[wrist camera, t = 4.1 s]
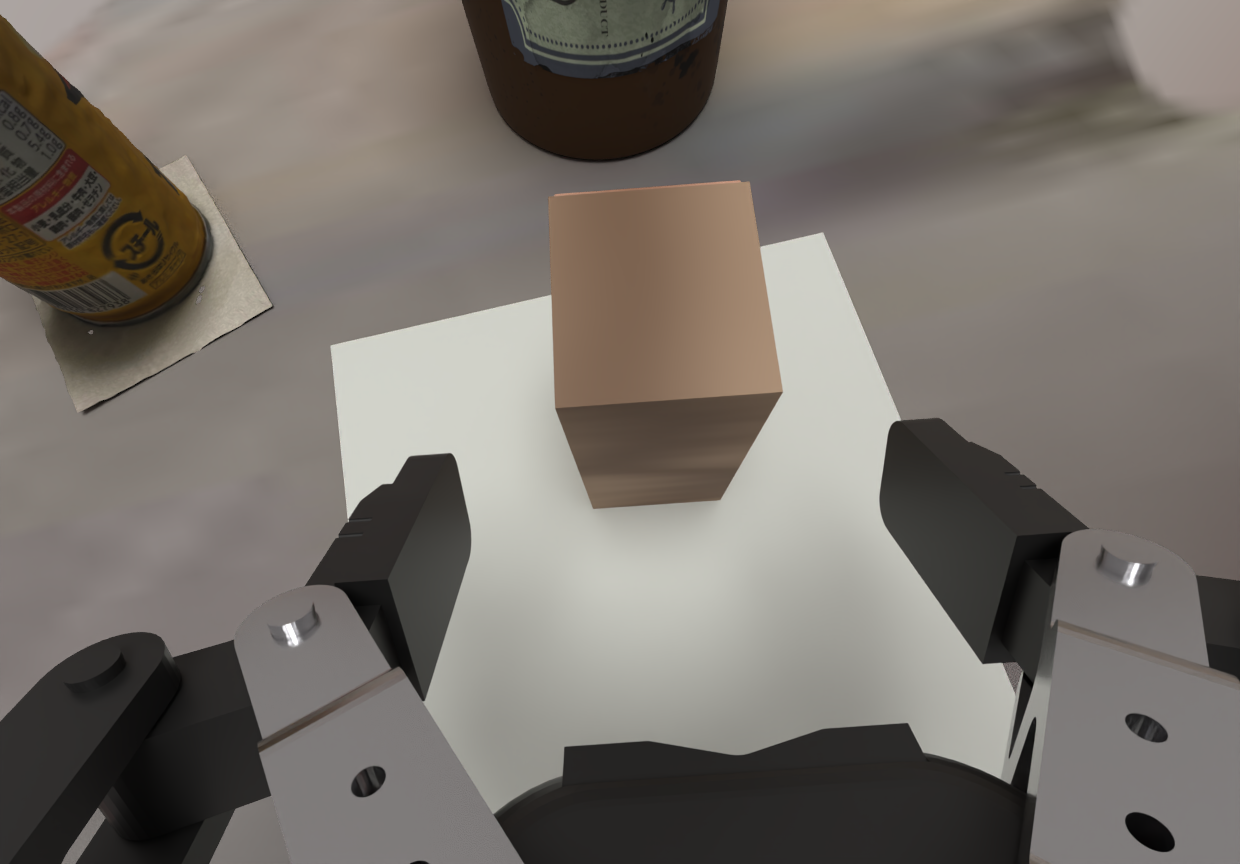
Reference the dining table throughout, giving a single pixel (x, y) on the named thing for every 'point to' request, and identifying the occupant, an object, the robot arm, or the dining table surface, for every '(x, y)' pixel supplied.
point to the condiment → (107, 236)
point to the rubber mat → (668, 555)
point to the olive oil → (598, 69)
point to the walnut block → (660, 339)
